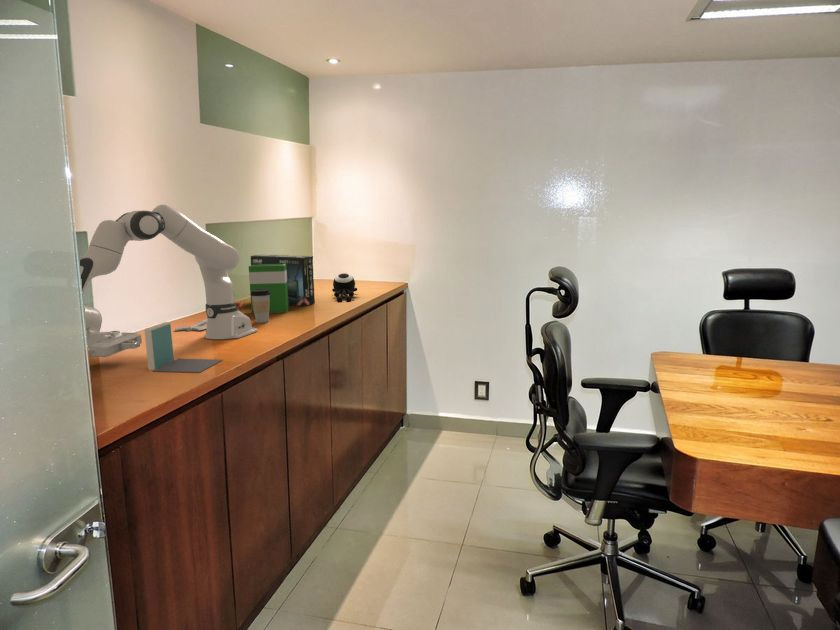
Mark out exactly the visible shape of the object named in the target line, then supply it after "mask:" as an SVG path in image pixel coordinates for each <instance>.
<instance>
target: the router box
mask: <svg viewBox="0 0 840 630" xmlns="http://www.w3.org/2000/svg"><path fill="white" fill-rule="evenodd" d="M313 258H314V255H293V254H292V255H290V254H287V255H286V254H266V253H265V254H254V255H250V266H251V265H264V264H286V270H287V288H288V305H289V306H295V307H296V306H297V307H305V306H306V307H307V306H310V305H312V304H315V303H316V299H315V282H314V265H313V264H314V261H313Z"/></svg>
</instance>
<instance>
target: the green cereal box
mask: <svg viewBox="0 0 840 630" xmlns="http://www.w3.org/2000/svg"><path fill="white" fill-rule="evenodd" d="M248 277H249V291H250V293H252V290H257V289H268V290H269V292H271V294H270V299H269V300H270V307H269V314H272V313H274V314H275V313H288V311H289V310H290V309H289V306H290V305H288V288H287V270H286V264H264V265H251V264H250V265H248ZM250 293H249V294H250ZM250 309H251V310H250V311H251V314H255V313H254V309H253V303H252V296H251V295H250Z"/></svg>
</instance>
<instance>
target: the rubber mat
mask: <svg viewBox="0 0 840 630" xmlns="http://www.w3.org/2000/svg"><path fill="white" fill-rule="evenodd" d="M221 362H223V359H215V358H214V359H213V358H211V359H208V358H176V359H174V361H172V362H170V363H168V364H166V365H163V366H161V367H159V368H157V369H155V370H152V372H158V373H159V372H161V373H162V372H163V373H187V374H188V373H189V374H190V373H192V374H193V373H194V374H200V373H203V372H204V371H206V370H208V369H210V368H212V367H213V366H215V365H217V364H218V363H221Z"/></svg>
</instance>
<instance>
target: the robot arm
mask: <svg viewBox="0 0 840 630" xmlns="http://www.w3.org/2000/svg"><path fill="white" fill-rule="evenodd" d="M159 234H161V235H163V236H164V237H165V238H167V239H168V240H169V241H171V242H172V243H174V244H175V245H176V246H177V247H179V248H180V249H182V250H183V251H185V252H187V253H189V254H191V255H193V256H194V259H195V262H196V263H197V265H198V267H199V269H200V272H201V276H202V277H201V278H202V279H203V280H202V281H203V284H204V292H205V300H206V301H205V302H206V303H205V312H206V319H207V323H206V326H207V327H206V329H205V335H204V337H205V338H206V339H208V340H228V339H240V338H243V337H245V336H248V335H250V334H253V333H256V332H258V328H256V327H252V322H251V318H250V317H249V316H248V315H246V314H244V313H243V312H242V311H240V310H239V308H241V307H243V303H242V301H237V302H235V298H234V297H235V294H234V284H233V281H232V280H231V279H230V276H229V272H228V271H230V270H231V271H232V270H234V269H235V268H236V267H237V266H238V265H239V262H240V254H239V253H240V252H238V250H237V249H236V248H235V247H234V246H231V245H230V244H228V243H226V242H225V241H223V240H221V239H220V238H218V237H217V236H215V235H214V234H211V232H208V231H206V230H205V229H203V228H202V227H201V226H199V225H198V224H197V223H196V222H193V220H191V219H190V218H189V217H188V216H186V215H184V214H183V213H182V212H180V211H178V210H177V209H175V208H173V207H171V206H169V205H167V204H158V205H157V206H155V208H153V209H152V211H151V210H134V211H130V212H126V213H124V214H122V215H120V216H119V217H118V218H117V219H116V220H114V219H113V220H112V219H107V220H105V219H104V220H103V221H101V222H100V223H99V224H98V225H97V227H96V229H95V231H94V233H93V234H92V236H91V240H90V241H89V242H90V243H89V245H88V247H87V250H86V252H85V254H84V255H83V257H82V258H81V259H79V260H80V268H81V279H82V291H83V293H84V292H85V290H86V288H87V286H88V284H89V282H91V280H93V279H94V278H96V277H99V276H105V275H109V274H111V273H113V272H115V271H116V270H117V269H118V267H119V265H120V264H121V261H122V258H123V254H124V251H125V247H126V245H127V244H128V242H129V241H139V242H142V241H148V240H149V241H150V240H152V239H154V238H156V237H157V236H158V235H159ZM83 306H84V308H85V319H86V330H87V341H88V353H89V356H88V357H92V358H107V357H110V356H112V355H115V354H118V353H120V352H123V351H125V350H130V349H133V350H134V349H137V348H139V347H141V344H142V342H143V341H142V335H141V333H137V332H136V333H135V332H121V331H120V330H111V331H101V328H102V324H103V317H102V314H101V313H100V310H98V309H96V308H94V307H91V306H87V305H83Z"/></svg>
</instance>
